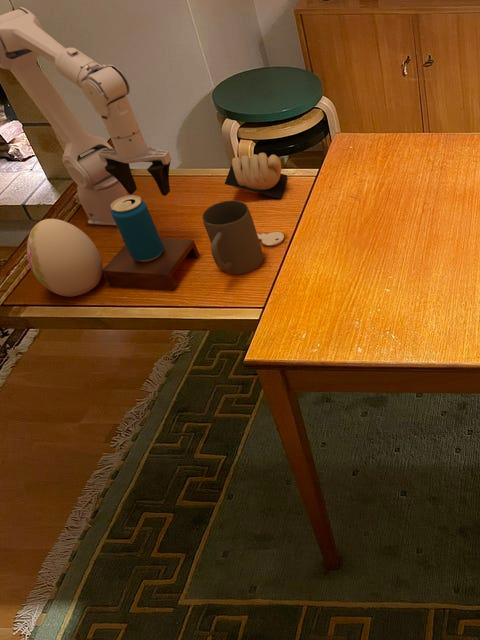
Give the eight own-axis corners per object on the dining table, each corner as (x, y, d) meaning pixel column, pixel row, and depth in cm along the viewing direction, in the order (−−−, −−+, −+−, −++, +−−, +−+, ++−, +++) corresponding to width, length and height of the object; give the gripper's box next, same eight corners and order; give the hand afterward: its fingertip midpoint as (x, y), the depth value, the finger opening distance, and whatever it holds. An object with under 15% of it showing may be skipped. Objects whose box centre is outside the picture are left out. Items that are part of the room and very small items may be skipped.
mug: (229, 248, 152) (211, 199, 144) (270, 249, 151) (255, 200, 143) (204, 288, 143) (184, 238, 134) (248, 289, 142) (230, 239, 133)
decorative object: (292, 148, 168) (286, 172, 161) (285, 184, 175) (279, 208, 168) (236, 133, 164) (227, 156, 158) (231, 170, 171) (223, 194, 164)
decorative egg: (61, 267, 150) (27, 205, 140) (119, 265, 150) (88, 202, 140) (36, 304, 141) (-3, 241, 131) (97, 302, 141) (62, 238, 131)
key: (288, 233, 154) (274, 246, 151) (288, 235, 155) (275, 247, 151) (247, 224, 158) (233, 237, 155) (247, 225, 158) (233, 238, 155)
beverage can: (171, 247, 147) (150, 196, 138) (152, 265, 142) (129, 214, 134) (145, 243, 148) (123, 192, 140) (125, 261, 144) (101, 209, 136)
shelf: (110, 286, 145) (101, 270, 142) (139, 251, 153) (131, 236, 150) (174, 290, 143) (167, 274, 140) (199, 255, 151) (193, 239, 148)
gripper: (167, 123, 143) (190, 183, 152) (101, 121, 145) (127, 181, 154) (150, 140, 138) (175, 201, 147) (82, 138, 140) (110, 198, 149)
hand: (149, 192), depth 151 cm, fingers open, 7 cm apart
